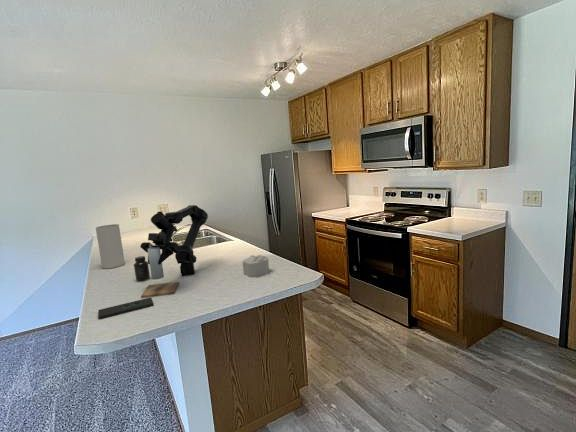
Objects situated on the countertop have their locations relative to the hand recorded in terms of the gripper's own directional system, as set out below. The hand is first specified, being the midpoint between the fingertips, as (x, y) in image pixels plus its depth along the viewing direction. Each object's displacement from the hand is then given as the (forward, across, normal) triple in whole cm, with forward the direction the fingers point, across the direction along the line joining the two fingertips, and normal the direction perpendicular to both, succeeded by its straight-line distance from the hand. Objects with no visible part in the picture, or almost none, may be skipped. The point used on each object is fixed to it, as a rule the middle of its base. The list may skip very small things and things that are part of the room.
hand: (153, 263), depth 148 cm
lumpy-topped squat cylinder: (-11, +38, +31) cm, 50 cm away
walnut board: (+8, 0, +11) cm, 14 cm away
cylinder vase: (-15, -60, +34) cm, 71 cm away
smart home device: (+23, -1, -3) cm, 23 cm away
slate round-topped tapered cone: (+4, 0, +6) cm, 7 cm away
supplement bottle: (0, -21, +20) cm, 29 cm away
